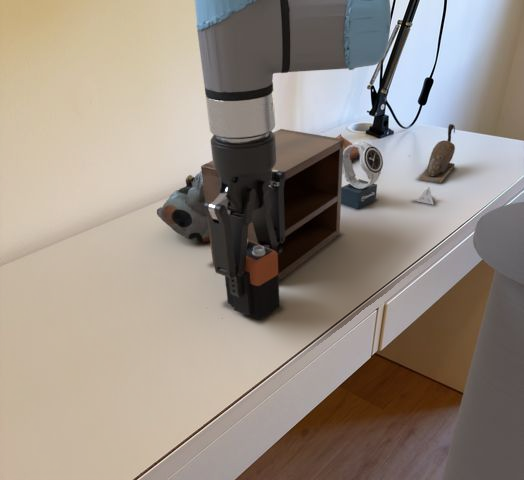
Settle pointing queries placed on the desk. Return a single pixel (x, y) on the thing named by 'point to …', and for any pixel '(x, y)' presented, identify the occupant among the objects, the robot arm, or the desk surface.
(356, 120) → the desk surface
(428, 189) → the tetrahedral die
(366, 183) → the watch
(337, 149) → the shelf
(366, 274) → the desk surface
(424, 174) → the figurine
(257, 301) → the battery
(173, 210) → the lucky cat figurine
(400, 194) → the desk surface
